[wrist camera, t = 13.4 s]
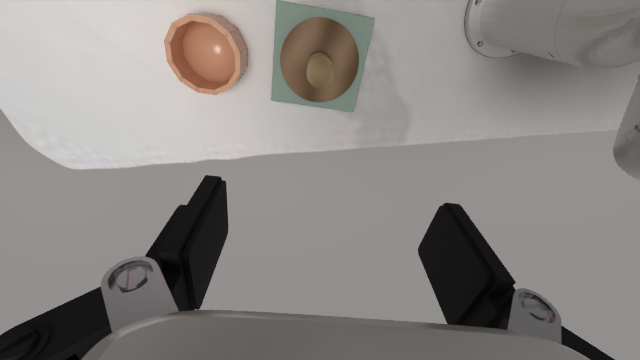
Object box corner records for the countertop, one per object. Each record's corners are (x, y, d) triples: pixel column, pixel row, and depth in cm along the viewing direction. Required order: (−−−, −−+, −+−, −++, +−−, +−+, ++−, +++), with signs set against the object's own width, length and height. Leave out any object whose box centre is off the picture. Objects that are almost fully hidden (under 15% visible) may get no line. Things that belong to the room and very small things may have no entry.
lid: (366, 24, 39) (376, 29, 32) (349, 105, 45) (355, 123, 39) (283, 10, 38) (277, 12, 31) (278, 95, 44) (271, 111, 38)
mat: (374, 17, 39) (374, 18, 38) (352, 111, 46) (353, 112, 46) (277, 0, 37) (276, 0, 37) (271, 99, 45) (271, 100, 45)
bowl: (247, 20, 39) (239, 22, 35) (247, 89, 44) (240, 98, 40) (176, 8, 38) (159, 8, 34) (185, 80, 43) (171, 88, 39)
